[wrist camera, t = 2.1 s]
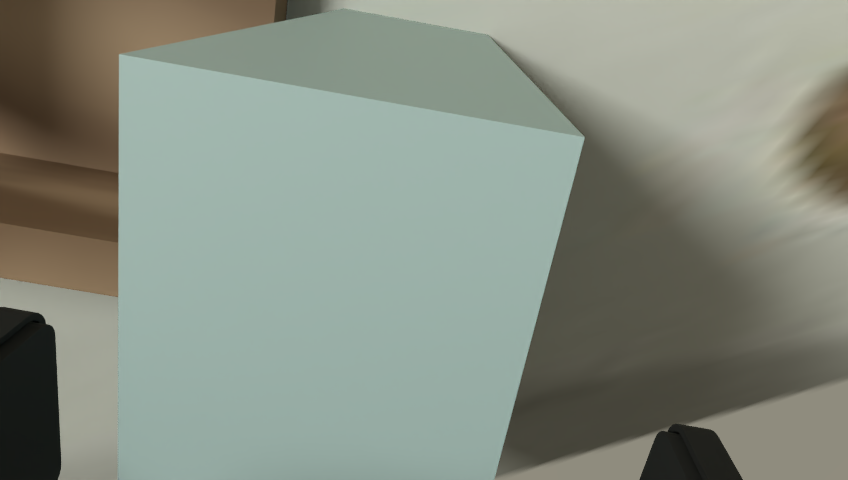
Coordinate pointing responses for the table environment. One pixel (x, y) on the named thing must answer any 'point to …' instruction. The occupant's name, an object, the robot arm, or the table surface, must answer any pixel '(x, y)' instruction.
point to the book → (330, 250)
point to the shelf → (80, 124)
